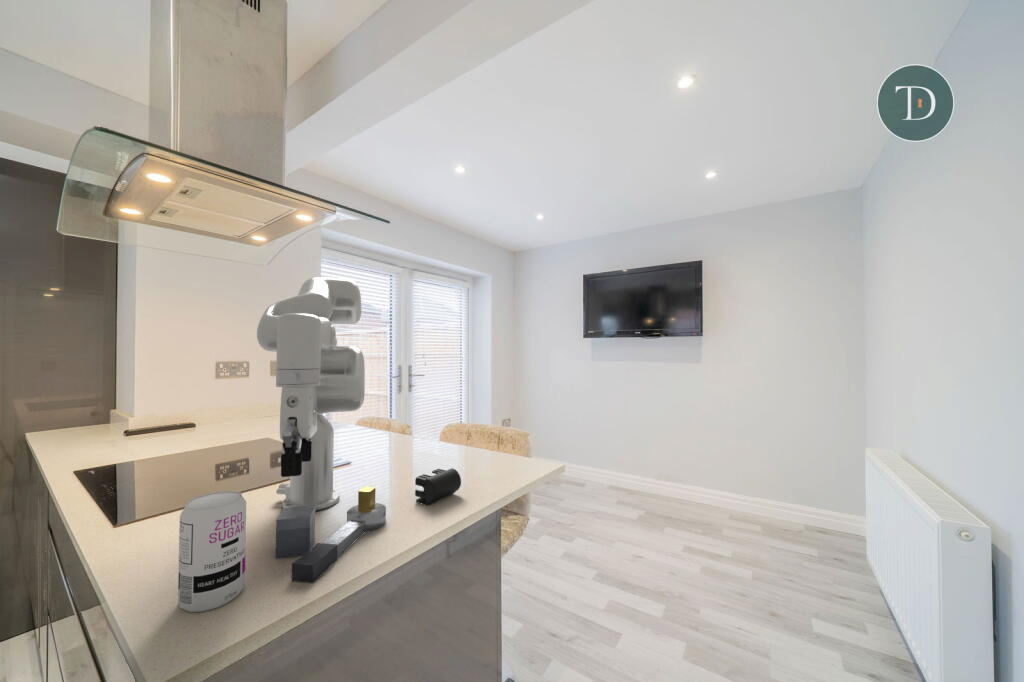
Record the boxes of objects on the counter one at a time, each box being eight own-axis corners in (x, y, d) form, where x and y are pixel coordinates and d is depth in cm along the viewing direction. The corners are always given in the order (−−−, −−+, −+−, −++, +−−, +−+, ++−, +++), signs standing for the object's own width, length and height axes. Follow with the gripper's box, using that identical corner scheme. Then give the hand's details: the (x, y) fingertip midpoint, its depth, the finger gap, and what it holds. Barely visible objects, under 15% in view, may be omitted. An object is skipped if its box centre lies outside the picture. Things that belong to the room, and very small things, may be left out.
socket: (275, 558, 72) (276, 520, 72) (283, 544, 77) (283, 508, 77) (309, 554, 73) (310, 516, 73) (314, 540, 79) (315, 504, 79)
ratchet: (279, 579, 65) (280, 534, 65) (358, 515, 91) (359, 482, 91) (324, 583, 64) (325, 537, 64) (391, 517, 90) (392, 483, 90)
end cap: (434, 509, 94) (435, 480, 95) (413, 502, 98) (413, 475, 98) (461, 495, 103) (461, 470, 103) (440, 490, 107) (441, 465, 107)
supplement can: (202, 582, 64) (204, 490, 65) (255, 580, 65) (257, 489, 65) (163, 616, 56) (165, 510, 56) (224, 613, 57) (226, 509, 57)
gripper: (312, 381, 69) (310, 480, 68) (326, 375, 85) (325, 455, 85) (263, 382, 66) (260, 484, 66) (287, 376, 83) (285, 458, 82)
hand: (297, 468), depth 75 cm, fingers open, 9 cm apart
